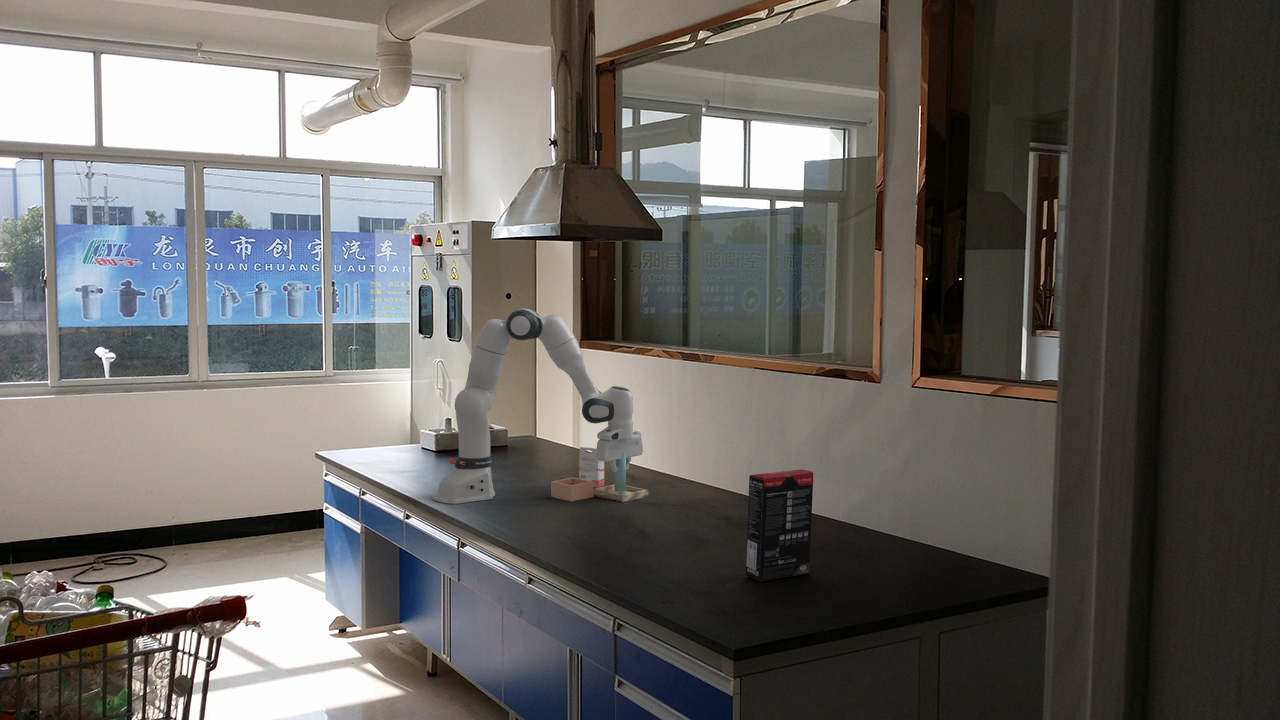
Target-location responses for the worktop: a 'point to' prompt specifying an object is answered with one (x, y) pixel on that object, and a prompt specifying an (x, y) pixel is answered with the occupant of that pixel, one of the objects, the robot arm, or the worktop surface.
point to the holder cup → (572, 489)
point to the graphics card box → (779, 524)
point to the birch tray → (620, 493)
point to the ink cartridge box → (591, 467)
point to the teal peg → (621, 474)
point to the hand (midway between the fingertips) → (620, 470)
